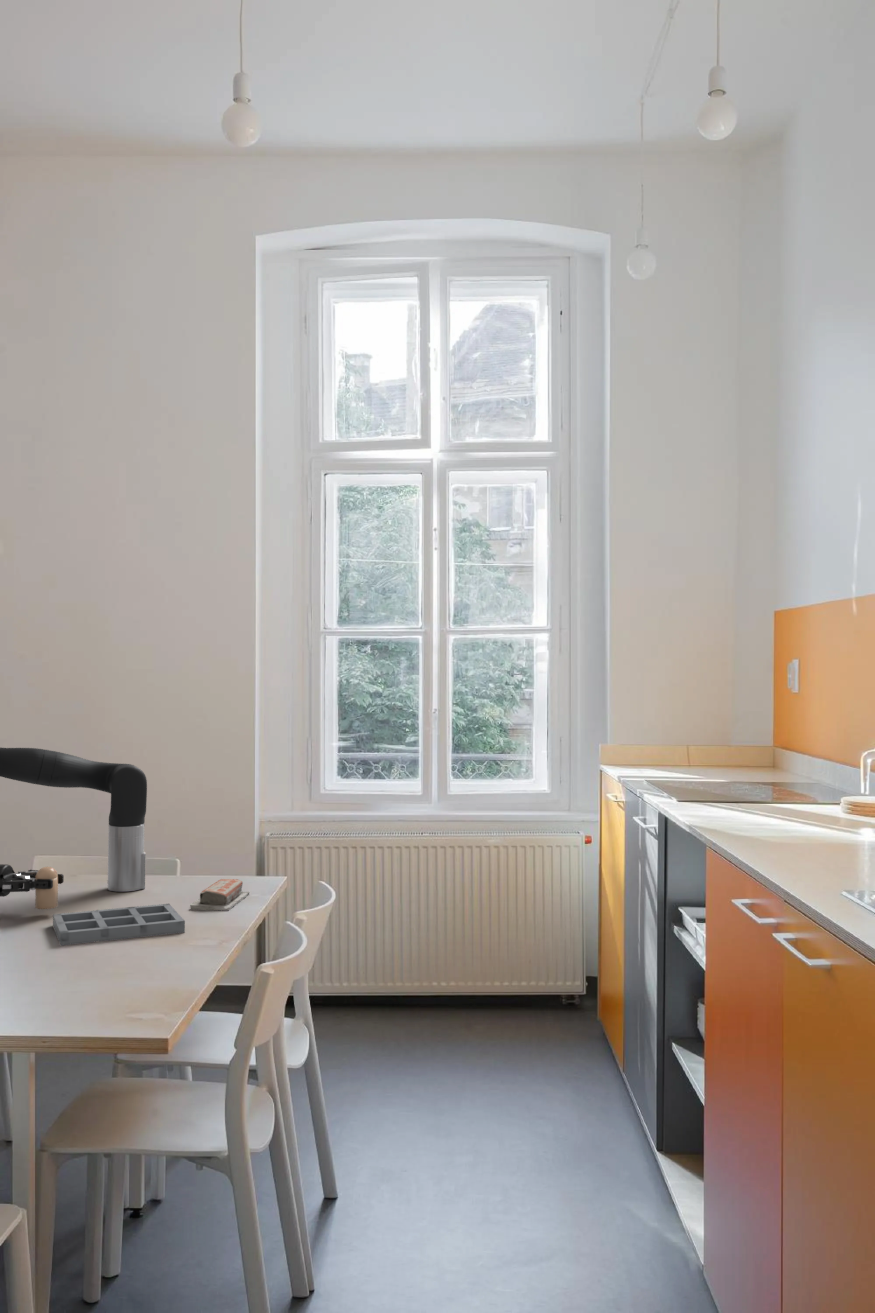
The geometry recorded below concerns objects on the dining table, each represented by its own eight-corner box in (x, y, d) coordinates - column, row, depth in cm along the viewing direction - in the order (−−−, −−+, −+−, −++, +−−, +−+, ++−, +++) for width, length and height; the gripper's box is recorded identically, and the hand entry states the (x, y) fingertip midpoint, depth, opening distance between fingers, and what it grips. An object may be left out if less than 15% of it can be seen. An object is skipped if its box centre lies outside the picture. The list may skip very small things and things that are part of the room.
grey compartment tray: (168, 914, 237) (169, 903, 237) (184, 932, 221) (184, 920, 221) (52, 925, 225) (53, 914, 225) (60, 945, 209) (60, 933, 209)
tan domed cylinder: (56, 903, 237) (57, 864, 237) (58, 908, 233) (59, 868, 233) (34, 905, 235) (34, 865, 235) (36, 910, 230) (36, 869, 231)
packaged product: (213, 877, 260) (249, 878, 259) (212, 895, 260) (249, 896, 259) (189, 891, 242) (229, 893, 241) (189, 911, 242) (228, 913, 241)
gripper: (-28, 870, 228) (43, 872, 227) (3, 858, 242) (71, 859, 241) (-28, 903, 228) (43, 904, 227) (3, 889, 242) (70, 890, 241)
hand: (57, 881), depth 234 cm, fingers closed on tan domed cylinder, 5 cm apart
